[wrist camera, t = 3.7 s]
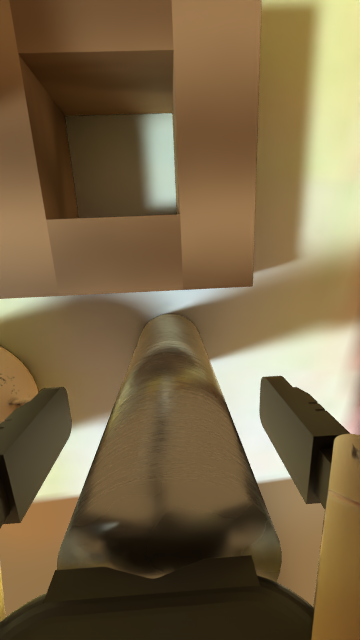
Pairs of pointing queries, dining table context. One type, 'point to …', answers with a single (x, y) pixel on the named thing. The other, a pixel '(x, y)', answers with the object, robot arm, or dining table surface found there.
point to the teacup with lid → (14, 384)
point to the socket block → (128, 98)
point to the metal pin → (169, 470)
